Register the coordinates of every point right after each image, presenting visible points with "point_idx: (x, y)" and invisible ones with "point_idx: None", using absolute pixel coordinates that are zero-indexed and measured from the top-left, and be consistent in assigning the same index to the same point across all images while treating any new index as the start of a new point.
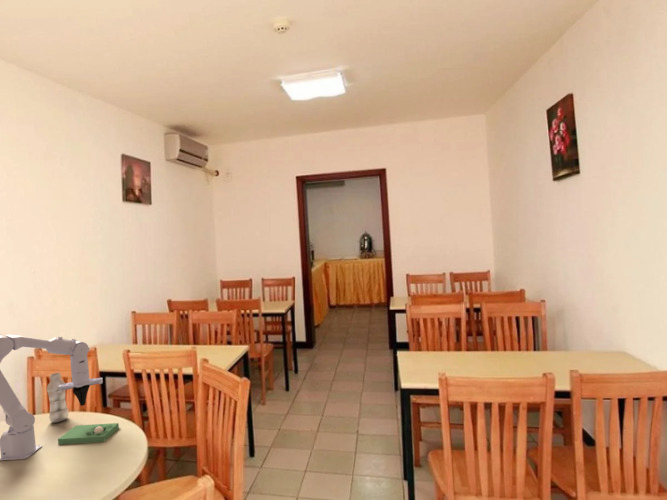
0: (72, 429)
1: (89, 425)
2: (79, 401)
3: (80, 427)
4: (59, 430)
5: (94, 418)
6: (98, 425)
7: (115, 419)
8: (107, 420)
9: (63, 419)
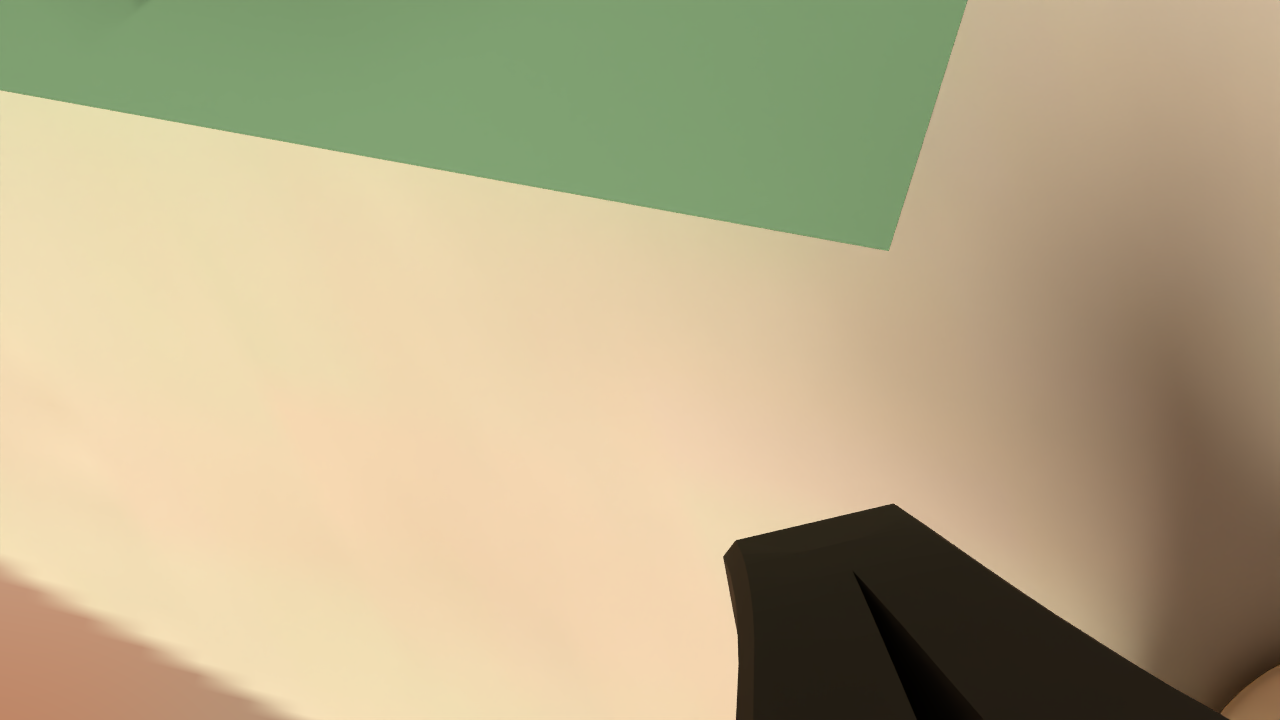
0: (899, 8)
1: (481, 122)
2: (1045, 612)
3: (709, 73)
4: (1216, 319)
5: (629, 680)
6: (172, 29)
7: (59, 529)
8: (257, 524)
9: (1246, 702)
